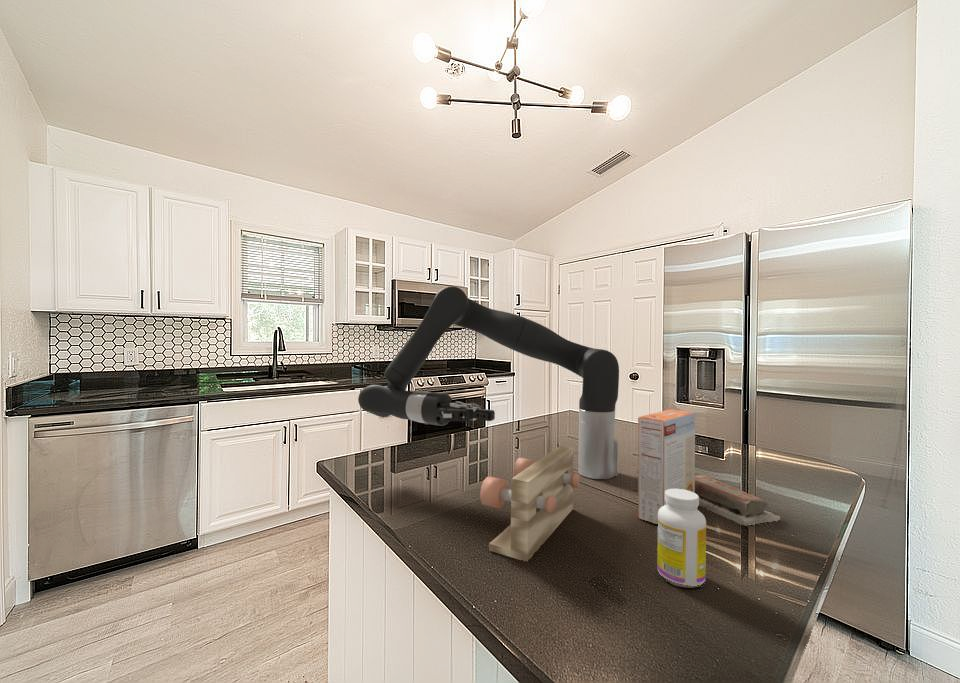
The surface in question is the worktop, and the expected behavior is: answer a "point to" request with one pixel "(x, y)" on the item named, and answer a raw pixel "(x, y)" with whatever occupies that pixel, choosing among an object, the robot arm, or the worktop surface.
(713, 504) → the packaged product
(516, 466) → the knob
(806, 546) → the worktop surface
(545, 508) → the knob
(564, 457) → the knob panel
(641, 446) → the cracker box
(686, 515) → the supplement bottle
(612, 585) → the worktop surface
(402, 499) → the worktop surface
